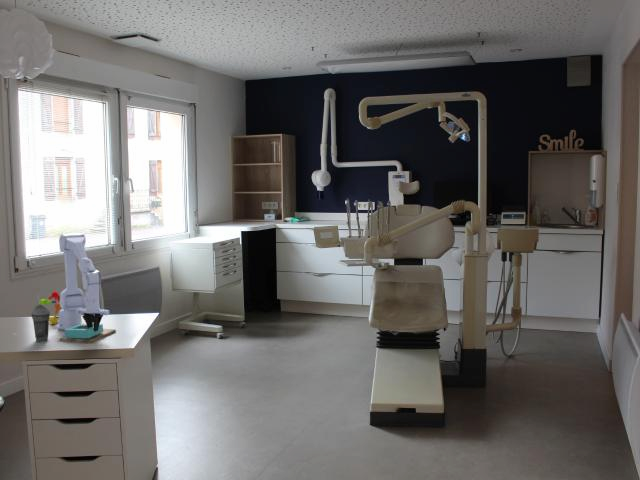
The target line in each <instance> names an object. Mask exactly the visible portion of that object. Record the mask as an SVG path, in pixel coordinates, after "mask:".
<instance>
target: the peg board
mask: <svg viewBox="0 0 640 480" xmlns="http://www.w3.org/2000/svg"><path fill="white" fill-rule="evenodd" d="M81 327H82V329H87V325H81ZM114 333H117V329H113V328H103V332H102V333H100V334H97V335H95V336H93V337H90V338H66V337H65V335H63V336H62V337H60V338H59V342H68V343H80V344H93V343H95V342H97V341H99V340H101V339H104V338H107V337H109V336H110V334H111V335H112V334H114ZM108 335H109V336H108Z"/></svg>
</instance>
